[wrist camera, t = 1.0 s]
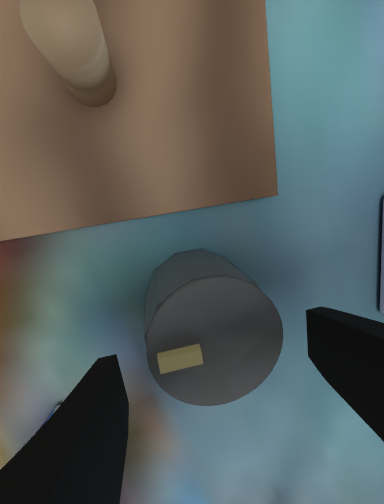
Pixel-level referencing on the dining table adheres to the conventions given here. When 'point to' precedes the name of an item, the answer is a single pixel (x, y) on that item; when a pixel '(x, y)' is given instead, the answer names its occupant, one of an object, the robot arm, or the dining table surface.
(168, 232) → the dining table surface
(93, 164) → the post board
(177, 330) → the cap
